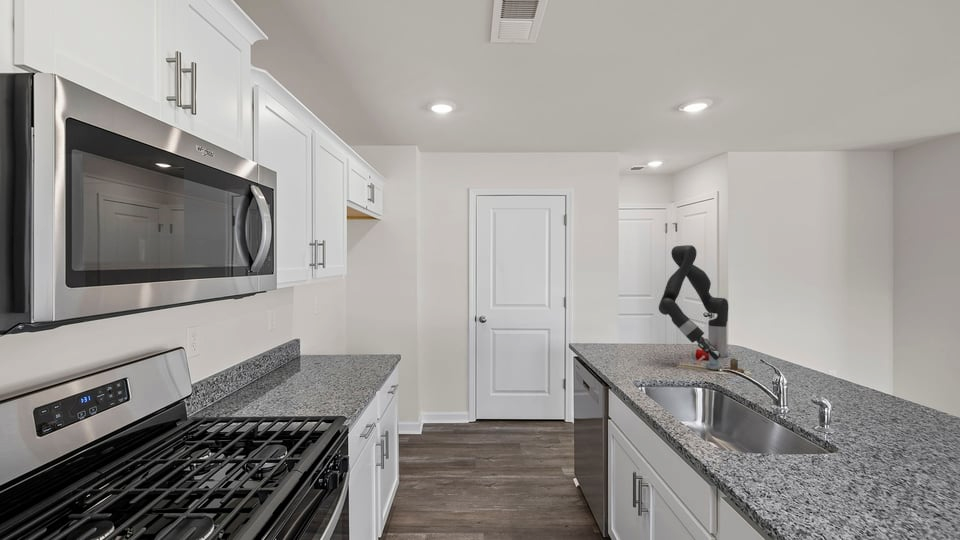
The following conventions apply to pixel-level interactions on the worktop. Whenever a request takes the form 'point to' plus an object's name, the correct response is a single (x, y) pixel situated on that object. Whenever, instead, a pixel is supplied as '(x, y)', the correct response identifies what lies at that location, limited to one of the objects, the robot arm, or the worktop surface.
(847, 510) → the worktop surface
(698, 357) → the toy hammer
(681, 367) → the gear board
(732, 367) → the gear
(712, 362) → the gear
